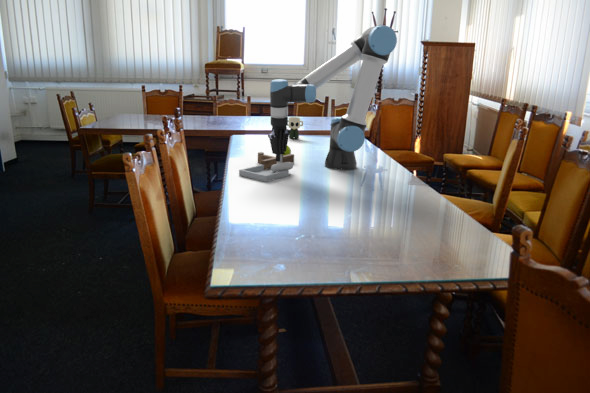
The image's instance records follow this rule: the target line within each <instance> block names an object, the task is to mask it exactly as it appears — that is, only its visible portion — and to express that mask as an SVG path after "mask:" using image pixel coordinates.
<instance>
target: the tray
mask: <svg viewBox="0 0 590 393" xmlns="http://www.w3.org/2000/svg"><path fill="white" fill-rule="evenodd" d="M238 171H239V172H238V176H239V177H245V178H247V179H252V180H257V181H261V182H264V183H268V182H270V181H274V180H275V181H276V180H279V179H282V178H287V177H289V170H284V171H280V172H272V171H271V170H269V169H266V170H264V165H261V164H259V165H254V166H250V167H246V168H242V169H238Z"/></svg>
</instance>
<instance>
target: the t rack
mask: <svg viewBox="0 0 590 393" xmlns="http://www.w3.org/2000/svg"><path fill="white" fill-rule="evenodd" d="M284 162H291V163H292V164H294V163H295V154H293V153H291V154H288V155H284V156H283V160H282V163H284ZM257 163H258V164H260V165H264V170H269V169H270V170H271V166H272V165H274V164H277V161H276V156H275V155H274V156H273V155H270V154H269V155H268V154H265V153H264V152H262V151H259V152H257Z"/></svg>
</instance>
